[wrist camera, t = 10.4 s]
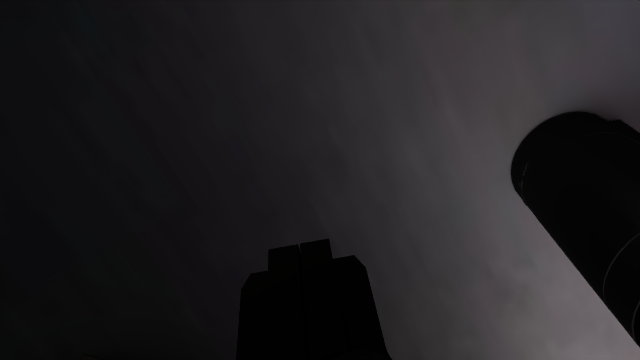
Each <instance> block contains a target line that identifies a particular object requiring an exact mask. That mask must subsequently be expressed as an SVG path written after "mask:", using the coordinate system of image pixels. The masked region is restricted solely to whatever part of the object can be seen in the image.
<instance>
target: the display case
mask: <svg viewBox="0 0 640 360" xmlns="http://www.w3.org/2000/svg"><path fill="white" fill-rule="evenodd" d="M81 360H100V359H97V358H93V357H90V356H86V355H83V357H82V359H81Z"/></svg>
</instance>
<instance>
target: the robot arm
mask: <svg viewBox="0 0 640 360" xmlns="http://www.w3.org/2000/svg"><path fill="white" fill-rule="evenodd" d="M511 178H512V184H513V186H514V189H515V191H516V192H517V193H518V195H519V196H520V197H521V199H522V200H523V202H524V203H525V205H526V206H528V208H529V209H530V210H531V211H532V213H533V214H534V215H535V217H536V218H537V219H538V221H539V222H540V223H541V224H542V226H543V227H544V228H545V229H546V231H547V232H548V233H549V234H550V236H551V237H552V238H553V240H554V241H555V242H556V243H557V245H558V246H559V247H560V248H561V250H562V251H563V252H564V253H565V255H566V256H567V257H568V258H569V260H570V261H571V262H572V263H573V265H574V266H575V267H576V268H577V270H578V271H579V272H580V274H581V275H582V276H583V277H584V279H585V280H586V281H587V282H588V284H589V285H590V286H591V287H592V289H593V290H594V291H595V292H596V294H597V295H598V296H599V297H600V299H601V300H602V301H603V302H604V304H605V305H606V306H607V308H608V309H609V310H610V311H611V312H612V314H613V315H614V316H615V317H616V319H617V320H618V321H619V322H620V324H621V325H622V326H623V327H624V329H625V330H626V331H627V332H628V334H629V335H630V336H631V338H632V339H633V340H634V341H635V343H636V344H637V345H638V346H639V347H640V133H639V132H638V131H636V130H635V129H633V128H632V127H630V126H629V125H628V124H626V123H625V122H623V121H622V120H620V119H618V120H613V121H608V120H605V119H603V118H602V117H600V116H598V115H595V114H591V113H587V112H573V113H567V114H562V115H560V116H557V117H555V118H552V119H550V120H548V121H546V122H545V123H543V124H541V125H540V126H539V127H537V128H536V129H535V130H534V131H532V132H531V133H530V134H529V135H528V136H527V138H526V139H525V140H524V141H523V142H522V144H521V145H520V147H519V149H518V150H517V152H516V154H515V157H514V160H513V162H512V169H511ZM300 250H301V253H300ZM236 360H392V359H391V357H390V356H389V354H388V352H387V350H386V347H385V343H384V339H383V335H382V331H381V327H380V323H379V318H378V314H377V310H376V306H375V302H374V299H373V294H372V290H371V286H370V282H369V278H368V274H367V270H366V267H365V266H364V265H363V264H362V263H361V262H360V261H359V260H358V259H357V258H356V257H355V256H354V255H352V256H347V257H341V258H336V259H333V257H332V252H331V247H330V241H329V239H324V240H318V241H313V242H307V243H301V244H300V249H299V246H298V244H296V245H291V246H285V247H280V248H274V249H269V251H268V271H264V272H258V273H252V274H250V276H249V277H248V279H247V281H246V282H245V284H244V286H243V288H242V289H241V298H240V312H239V326H238V340H237V355H236Z"/></svg>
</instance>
